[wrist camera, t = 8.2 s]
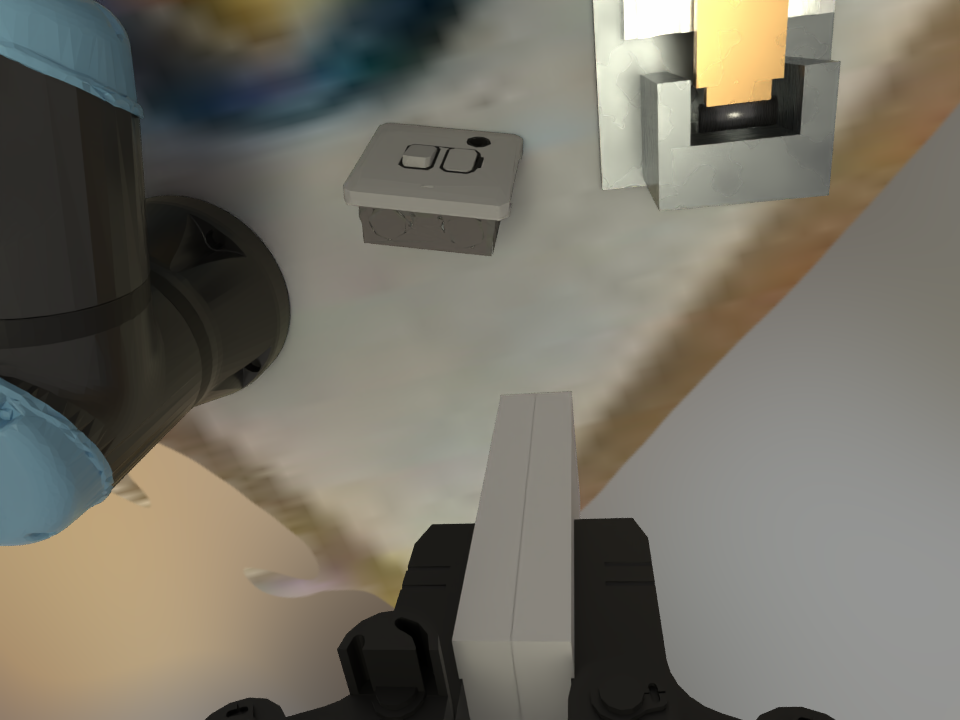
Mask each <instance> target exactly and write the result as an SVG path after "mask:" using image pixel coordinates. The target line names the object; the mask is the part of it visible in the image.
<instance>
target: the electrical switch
mask: <svg viewBox="0 0 960 720" xmlns="http://www.w3.org/2000/svg"><path fill="white" fill-rule="evenodd" d="M522 153H523V139H522V138H520V137H519V136H517V135H513V134H503V133H493V132H482V131H471V130H460V129H449V128H438V127H427V126H416V125H405V124H394V123H386V124H383V125H380V126H379V127H378V129H377V131H376V132H375V134H374V136H373V137H372V139H371V141H370V142H369V144H368V146H367V147H366V149H365V151H364V152H363V154H362V155H361V157H360V159H359V160H358V162H357V164H356V165H355V167H354V169H353V170H352V172H351V174H350V175H349V177H348V178H347V180H346V182H345V183H344V185H343V189H344V200H345V202H346V204H347V205H355V206H359V217H360V220H361V222H362V227H363V238H364V243H371V244H381V245H390V246H400V247H409V248H419V249H428V250H437V251H447V252H456V253H466V254H475V255H485V256H491V253H492V241H493V251H494V247H495V242H496V238H497V233H498V229H499V224H500V220H502V219H504V218H507V217H509V215H510V211H511V206H512V204H511V203H510V200H511V195H512V190H513V185H514V181H515V176H516V171H517V167H518V162H519V159H521V158H522ZM397 211H398V212H400V213H401V214H402V215H403V216H404V217H403V216H402V215H401V214H399V213H398V212H397ZM411 215H413V216H411ZM438 217H439V219H438ZM440 217H442V218H440ZM443 222H444V231H443V229H442V228H441V226H442V223H443ZM411 223H413V225H412V228H411ZM372 227H373V228H372ZM373 229H374V230H373ZM405 229H406V232H405ZM387 238H388V239H387ZM389 239H391V240H389ZM473 246H474V247H473ZM471 247H473V248H471Z"/></svg>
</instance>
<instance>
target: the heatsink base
mask: <svg viewBox="0 0 960 720" xmlns="http://www.w3.org/2000/svg"><path fill="white" fill-rule="evenodd" d="M834 12H835V0H789V5H788V20H787V35H786V50H785V65H784V78H777V79H772V88H771V95H776V96H777V99H778V118H777V122H776V124H775V125H768V126H759V127H750V128H741V129H732V130H723V131H714V132H705V133H698V131H697V123H696V113H697V106H698V104H701V103H704V88H695V87H694V86H693V63H694V0H593V20H594V40H595V59H596V79H597V99H598V119H599V139H600V159H601V179H602V190H609V189H619V188H629V187H639V186H647V187H648V189H649V191H650V193H651V195H652V197H653V199H654V201H655V203H656V205H657V207H658V209H659V211H667V210H678V209H688V208H699V207H709V206H720V205H730V204H741V203H752V202H762V201H773V200H783V199H794V198H804V197H815V196H825V195H829V187H830V176H831V164H832V153H833V141H834V130H835V119H836V107H837V96H838V84H839V73H840V61H833V60H831V48H832V36H833V24H834Z"/></svg>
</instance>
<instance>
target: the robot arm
mask: <svg viewBox="0 0 960 720" xmlns="http://www.w3.org/2000/svg"><path fill="white" fill-rule="evenodd" d="M140 118H144V117H143V109H142V107H141V106H140V105H139V104H138V102H137V95H136V87H135V79H134V71H133V63H132V55H131V47H130V41H129V38H128V35H127V33H126V31H125V29H124V27H123V25H122V24H121V23H120V21H119V20H118V19H117V17H116V16H115V15H114V14H113V13H112V12H111V11H109V10H108V9H107V8H105V7H104V6H103V5H101V4H99V3H98V2H96V1H94V0H0V546H16V545H26V544H31V543H35V542H39V541H42V540H45V539H47V538H50V537H51V536H53V535H56V534H58V533H59V532H61V531H62V530H64V529H65V528H67V527H68V526H69V525H70V524H71V523H73V522H74V521H75V520H76V519H77V518H79V517H80V516H81V515H82V514H83V513H84V512H85V511H87V510H88V509H89V508H90V507H93V506H94V505H96V504H99V503H101V502H102V501H104V500H105V499H106V498H107V496H109V494H110V493H111V490H112V489H113V488H114V487H115V486H116V485H117V484H118V483H119V482H120V481H121V480H122V479H123V478H124V477H125V475H126V474H127V473H128V472H129V471H130V470H131V469H132V468H133V467H134V466H135V465H136V464H137V463H138V462H139V461H140V460H141V459H142V458H143V457H144V456H145V455H146V454H147V453H148V452H149V451H150V450H151V449H152V448H153V447H154V446H155V445H156V444H157V443H158V442H159V441H160V440H161V439H162V438H163V437H164V436H165V435H166V434H167V433H168V432H169V431H170V430H171V429H172V428H173V427H174V426H175V425H176V424H177V423H178V422H179V421H180V420H181V419H182V418H183V417H184V416H185V415H186V414H187V413H188V412H189V411H190V410H191V409H192V408H193V407H195V406H198V405H201V404H204V403H206V402H209V401H212V400H215V399H218V398H221V397H224V396H227V395H230V394H233V393H235V392H237V391H239V390H241V389H243V388H245V387H246V386H248V385H249V384H251V383H252V382H253V381H255V380H256V379H257V378H258V377H259V376H260V375H261V374H262V373H263V372H264V371H265V370H266V369H267V368H268V367H269V366H270V364H271V363H272V362H273V361H274V360H275V358H276V357H277V356H278V354H279V352H280V351H281V349H282V347H283V345H284V342H285V339H286V336H287V332H288V327H289V319H290V308H289V299H288V294H287V289H286V286H285V282H284V279H283V277H282V274H281V272H280V270H279V268H278V266H277V264H276V262H275V260H274V258H273V257H272V255H271V254H270V252H269V251H268V249H267V248H266V247H265V245H264V244H263V243H262V242H261V240H260V239H259V238H258V237H257V236H256V235H255V234H254V233H253V232H252V231H251V230H250V229H249V228H248V227H247V226H246V225H244V224H243V223H242V222H241V221H239V220H238V219H237V218H235V217H234V216H232V215H231V214H229V213H228V212H226V211H224V210H222V209H220V208H218V207H216V206H214V205H212V204H209V203H207V202H204V201H201V200H198V199H194V198H190V197H184V196H170V195H166V196H156V197H151V198H147V199H145V187H144V172H143V158H142V143H141V129H140ZM337 651H338V654H339V657H340V661H341V664H342V668H343V671H344V674H345V678H346V681H347V685H348V688H349V692H350V695H348V696H346V697H345V698H343V699H341V700H340V701H337V702H335V703H332V704H330V705H327V706H325V707H321V708H317V709H314V710H310V711H307V712H303V713H299V714H296V715H292V716H289V717H285V715H284V713H283V711H282V709H281V707H280V706H279V705H277V704H275V703H273V702H271V701H270V700H268V699H263V698H246V699H243V700H239V701H236V702H232V703H229V704H228V705H226V706H224V707H222V708H221V709H219V710H217V711H216V712H214V713H212V714H211V715H209V717H207V718H206V719H205V720H741V719H738V718H735V717H732V716H728V715H725V714H722V713H720V712H717V711H715V710H712V709H710V708H707V707H705V706H703V705H702V704H700V703H699V702H697V701H696V700H694V699H693V698H691V697H690V696H689V695H688V694H687V693H686V692H685V691H684V690H683V689H682V688H681V687H680V686H679V685H678V684H677V682H676V680H675V679H674V677H673V676H672V674H671V673H670V669H669V666H668V663H667V660H666V654H665V647H664V640H663V634H662V628H661V620H660V614H659V607H658V601H657V594H656V587H655V581H654V574H653V568H652V561H651V554H650V548H649V541H648V537H647V536H646V535H645V533H644V532H643V531H642V530H641V528H640V527H639V526H638V524H637V523H636V522H635V521H634V519H633V518H611V519H580V493H579V480H578V467H577V455H576V442H575V429H574V416H573V404H572V391H566V392H547V393H529V394H510V395H501V397H500V402H499V407H498V412H497V417H496V422H495V427H494V432H493V437H492V442H491V447H490V452H489V457H488V462H487V467H486V472H485V477H484V482H483V487H482V492H481V497H480V502H479V507H478V512H477V517H476V522H475V523H474V524H432V525H431V526H430V527H429V528H428V530H427V531H426V532H425V533H424V534H423V535H422V536H421V538H420V539H419V540H418V541H417V542H416V543H415V545H414V548H413V551H412V555H411V558H410V561H409V564H408V571H406V574H405V577H404V580H403V584H402V590H400V593H399V597H398V600H397V603H396V606H395V609H394V611H388V612H382V613H378V614H376V615H374V616H372V617H370V618H368V619H365V620H363V621H361V622H360V623H359V624H358V625H356V626H355V627H354V628H353V629H352V630H351V631H349V632H348V633H347V634H346V636H345V637H344V639H343V641H342V642H341V644H340V646H339V647H338V649H337ZM757 720H835V719H833V718H831V717H830V716H828V715H827V714H824V713H820V712H817V711H814V710H810V709H807V708H804V707H778V708H776V709H773V710H771V711H769V712H766V713H764V714H762V715H760V716H759V717H758V718H757Z"/></svg>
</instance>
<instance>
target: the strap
mask: <svg viewBox="0 0 960 720" xmlns="http://www.w3.org/2000/svg"><path fill="white" fill-rule="evenodd" d="M788 5H789V0H694V63H693V86H694V87H695V88H704V103H701V104H698V106H697V113H696V123H697V131H698V133H705V132H714V131H723V130H732V129H741V128H750V127H759V126H768V125H775V124H776V122H777V118H778V99H777V96H776V95H771V88H772V79H777V78H784V65H785V50H786V35H787V20H788Z"/></svg>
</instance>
